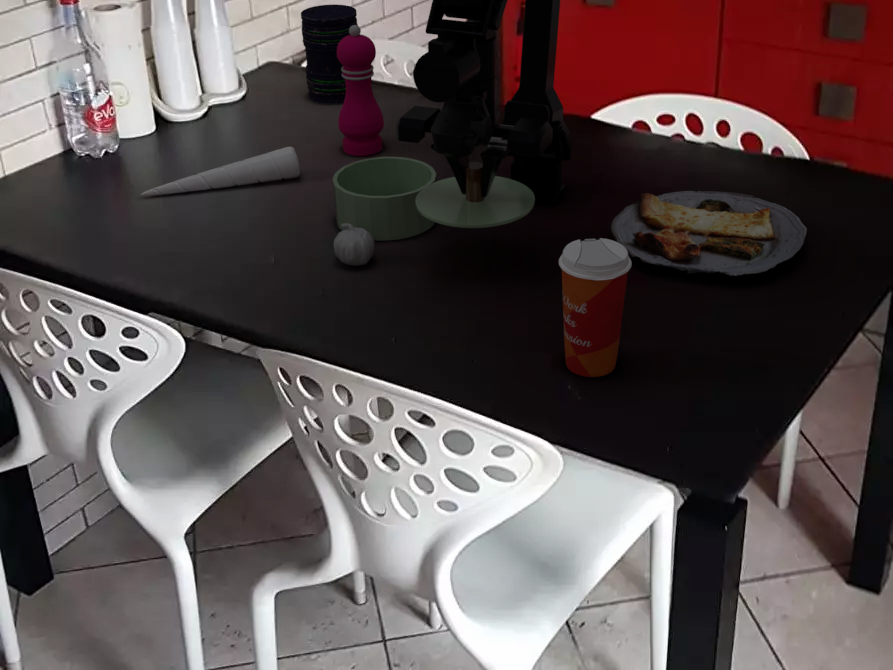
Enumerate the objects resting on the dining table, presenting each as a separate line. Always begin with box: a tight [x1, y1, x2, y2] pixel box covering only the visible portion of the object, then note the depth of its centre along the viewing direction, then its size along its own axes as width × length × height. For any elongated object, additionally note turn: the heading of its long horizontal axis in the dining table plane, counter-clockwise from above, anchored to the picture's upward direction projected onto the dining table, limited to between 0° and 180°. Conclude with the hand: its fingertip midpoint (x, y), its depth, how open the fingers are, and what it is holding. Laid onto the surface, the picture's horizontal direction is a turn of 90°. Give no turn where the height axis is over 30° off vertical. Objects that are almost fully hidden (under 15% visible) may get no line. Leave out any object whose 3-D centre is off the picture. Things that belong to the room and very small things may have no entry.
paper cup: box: [558, 237, 633, 378], centre depth 126 cm, size 8×8×14 cm
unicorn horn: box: [140, 145, 301, 196], centre depth 175 cm, size 5×24×5 cm, turn 103°
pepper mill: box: [337, 25, 385, 157], centre depth 182 cm, size 7×7×20 cm
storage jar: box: [300, 4, 359, 105], centre depth 206 cm, size 10×10×15 cm
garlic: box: [333, 223, 375, 266], centre depth 152 cm, size 6×5×5 cm
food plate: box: [609, 190, 808, 277], centre depth 154 cm, size 25×23×4 cm
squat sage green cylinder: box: [332, 156, 438, 242], centre depth 162 cm, size 14×14×6 cm
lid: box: [415, 161, 536, 229], centre depth 147 cm, size 15×15×6 cm
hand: (474, 194), depth 148 cm, fingers closed on lid, 2 cm apart
